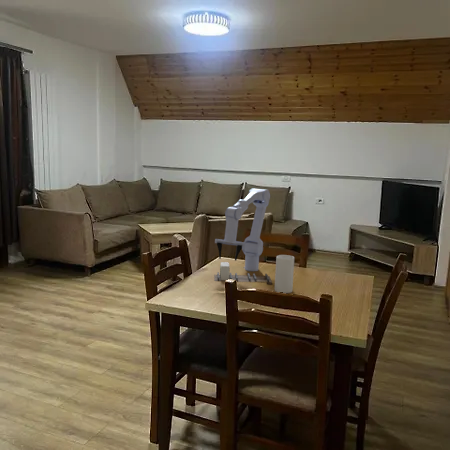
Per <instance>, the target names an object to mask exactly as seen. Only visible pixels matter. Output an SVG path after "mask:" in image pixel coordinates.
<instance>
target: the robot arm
mask: <svg viewBox="0 0 450 450" xmlns="http://www.w3.org/2000/svg"><path fill="white" fill-rule="evenodd" d="M270 199H271V194H270V190H269V188H267V189H266V188H265V189H264V188H254V187H252V188H251V189H249V191H248V194H247V196H246V197H245V198H244V199H239V200H238V201H237V202H236V203H234V204H233V206H228V207H227V208H226V209H225V212H224V215H225V230H224V238H223V239H221V238H220V239H219V238H215V239H214V244H216V245H217V249H218V259H221V258H222V248H223V245H229V246H236V248H235V256H234V261H235V262H236V261H237V260H238V256H239V254H240V252H241V250H242V252H243V254H244V255H245V258H244V267H243V269H244V270H245V271H247V272H258V271H259V266H260V265H259V264H260V256H261V255H262V253H263V251H264V247H263V246H264V242H263V240H262V239H261V233H262V228H263V223H264V220H265V219H264V218H265V215H266V211H267V207H268V206H269V203H270ZM250 204H253V205H254V206H255V207H256V208H255V212H254V216H253V221H252V226H251V230H250V232H249V233H250V235H249V236H247V237H246V238H244V241H243V242H242V241H238V240H237V236H238V235H237V234H238V228H239V227H238V226H239V220H241V218H242V215H244V212H245V211H246V210H248V209H249V205H250Z"/></svg>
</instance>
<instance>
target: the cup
mask: <svg viewBox="0 0 450 450" xmlns="http://www.w3.org/2000/svg"><path fill="white" fill-rule="evenodd" d="M275 257H276V258H275V259H276V260H275V261H276V262H275V271H274V273H275V275H274V291H275V292H276V293H279V292H283V293H282V294H290V293H292V292H293V284H294V269H295V256H293V255H289V254H288V255H287V254H279V255H276V256H275Z"/></svg>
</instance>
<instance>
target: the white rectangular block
mask: <svg viewBox="0 0 450 450" xmlns="http://www.w3.org/2000/svg"><path fill="white" fill-rule="evenodd" d="M219 275H220V279H221V280H228V279H229V275H230V263H229V262H228V261H220V267H219Z"/></svg>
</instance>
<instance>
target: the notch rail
mask: <svg viewBox="0 0 450 450" xmlns="http://www.w3.org/2000/svg"><path fill="white" fill-rule="evenodd" d="M216 273H217V274H214V275H213V276H214V277H213V278H214V280H213V281H214V282H226V281H225V280H221V279H220V271H217V272H216ZM229 279H233V280H236V281H237V282H239V283H241V282H242V283H266V285H273V281H272V278H271V276H270V275H269V274H268V273H264V275H256V273H255V272H254V273H252V275H250V273H247V275H243V274H241V275H240V274H238V273H237V272H234V274H232V272H229ZM237 282H236V283H237Z"/></svg>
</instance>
